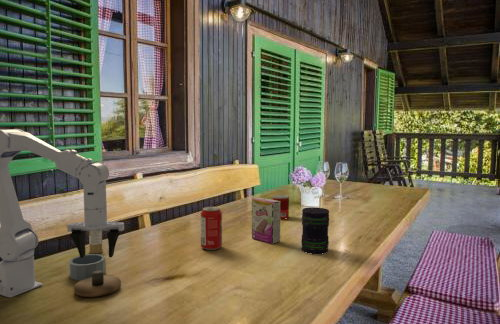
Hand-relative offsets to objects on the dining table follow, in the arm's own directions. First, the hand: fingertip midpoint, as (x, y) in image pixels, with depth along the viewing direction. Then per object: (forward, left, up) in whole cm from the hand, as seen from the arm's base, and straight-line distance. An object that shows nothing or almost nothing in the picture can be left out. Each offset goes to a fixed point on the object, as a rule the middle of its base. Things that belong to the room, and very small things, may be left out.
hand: (97, 256), depth 108 cm
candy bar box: (+64, -22, -10) cm, 68 cm away
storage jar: (+61, -43, -10) cm, 75 cm away
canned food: (+102, -13, -10) cm, 103 cm away
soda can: (+46, -8, -10) cm, 48 cm away
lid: (0, 0, -10) cm, 10 cm away
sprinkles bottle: (+23, +26, -10) cm, 36 cm away
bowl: (+7, +12, -9) cm, 17 cm away
